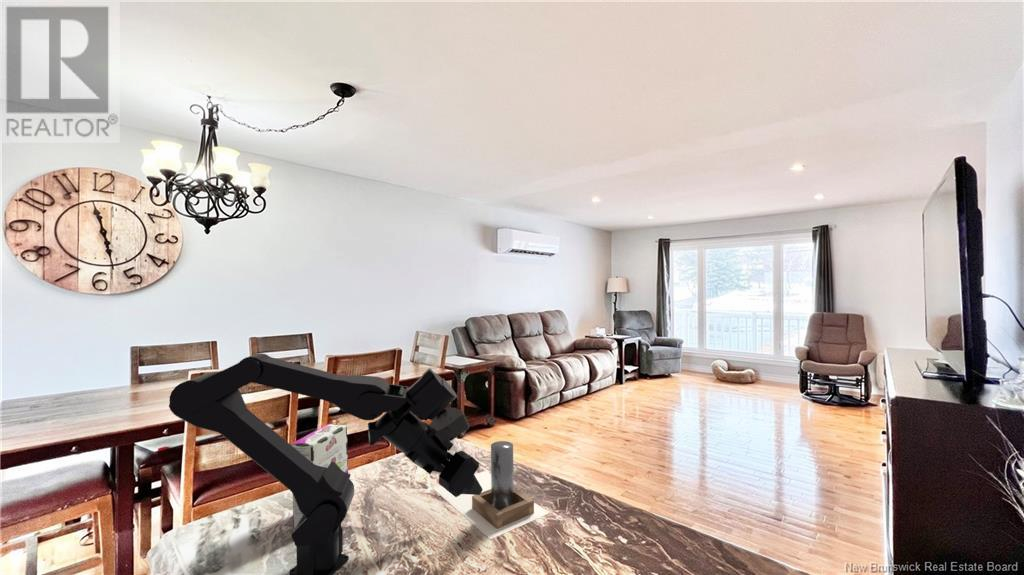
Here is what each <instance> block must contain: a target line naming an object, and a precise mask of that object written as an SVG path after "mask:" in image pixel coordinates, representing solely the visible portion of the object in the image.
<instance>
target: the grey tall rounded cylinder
mask: <svg viewBox="0 0 1024 575" xmlns="http://www.w3.org/2000/svg"><path fill="white" fill-rule="evenodd" d="M490 474H491V505H492V506H493V507H495V508H496V509H497V510H501V509H504V508H506V507H509V506H511V505H513V504H514V503H513V487H514V444H513V443H512V442H510V441H506V440H500V441H499V440H498V441H495V442H492V443H491V444H490Z"/></svg>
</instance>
